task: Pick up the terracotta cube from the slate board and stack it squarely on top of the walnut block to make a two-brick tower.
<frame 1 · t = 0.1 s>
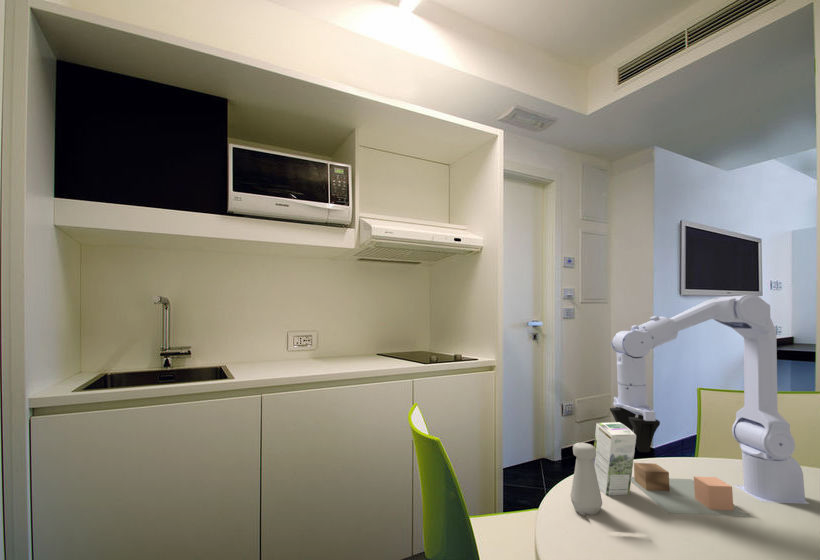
hand: (634, 445, 87), 10 cm above the table, tool pointing down, fingers open, 7 cm apart
terracotta cube: (713, 504, 79), point 1 cm above the table, touching slate board
syrup box: (609, 489, 86), on the table, touching gripper
slate board: (681, 497, 84), on the table
walnut block: (651, 485, 88), point 1 cm above the table, touching slate board
salt shaker: (586, 512, 77), on the table
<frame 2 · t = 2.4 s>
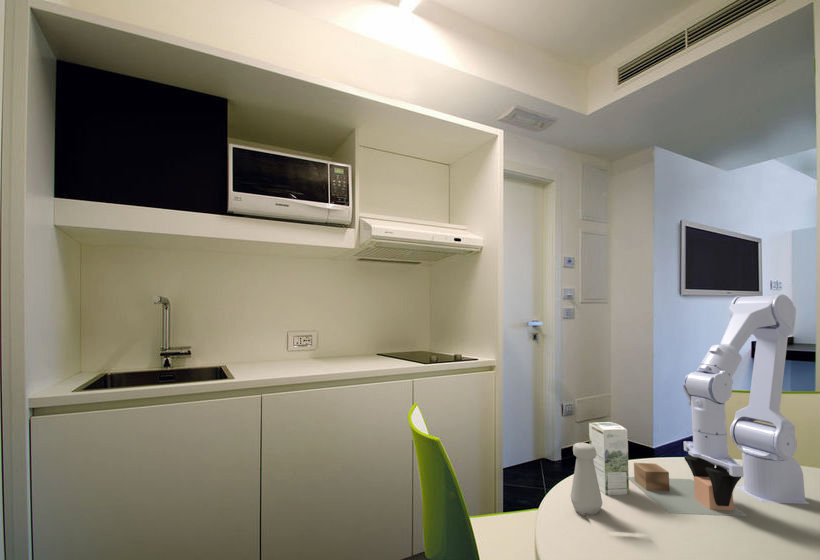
hand: (713, 499, 80), 2 cm above the table, tool pointing down, fingers closed on terracotta cube, 4 cm apart
terracotta cube: (713, 504, 79), point 1 cm above the table, touching gripper, slate board
syrup box: (609, 492, 86), on the table
everything else where it was.
when the fingers open (7 cm above the table, at t = 5.6 s): terracotta cube stays where it is, resting on walnut block.
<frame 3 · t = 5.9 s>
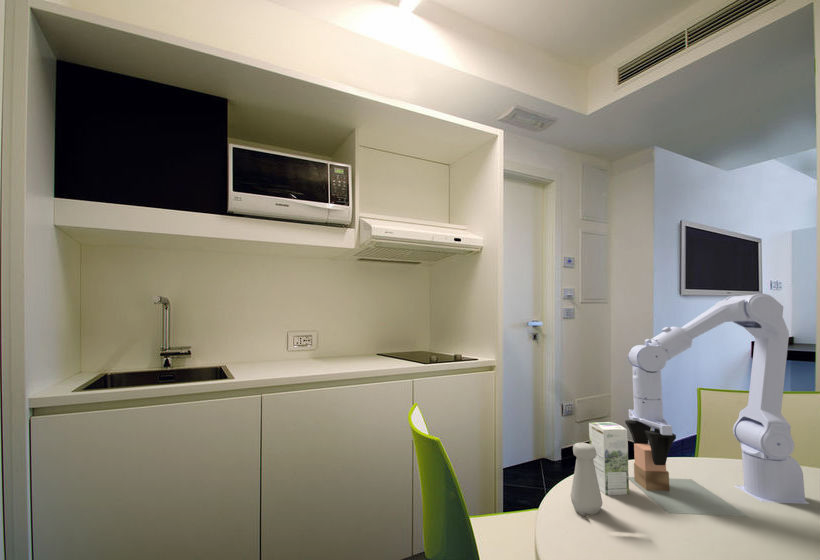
hand: (650, 458, 88), 7 cm above the table, tool pointing down, fingers open, 7 cm apart
terracotta cube: (650, 467, 88), point 5 cm above the table, touching walnut block
walnut block: (651, 485, 88), point 1 cm above the table, touching slate board, terracotta cube
everything else where it was.
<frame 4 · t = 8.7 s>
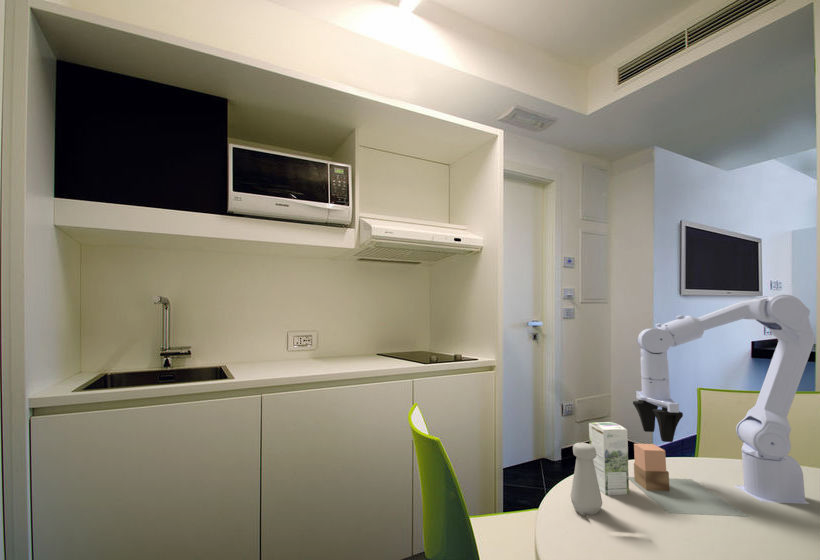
hand: (657, 436, 93), 10 cm above the table, tool pointing down, fingers open, 7 cm apart
nothing on the table moved.
at the end: terracotta cube 0.2 cm off-centre on the walnut block, point 4.0 cm above the walnut block's base; terracotta cube tilted 0°; walnut block moved 0.0 cm from its start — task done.
